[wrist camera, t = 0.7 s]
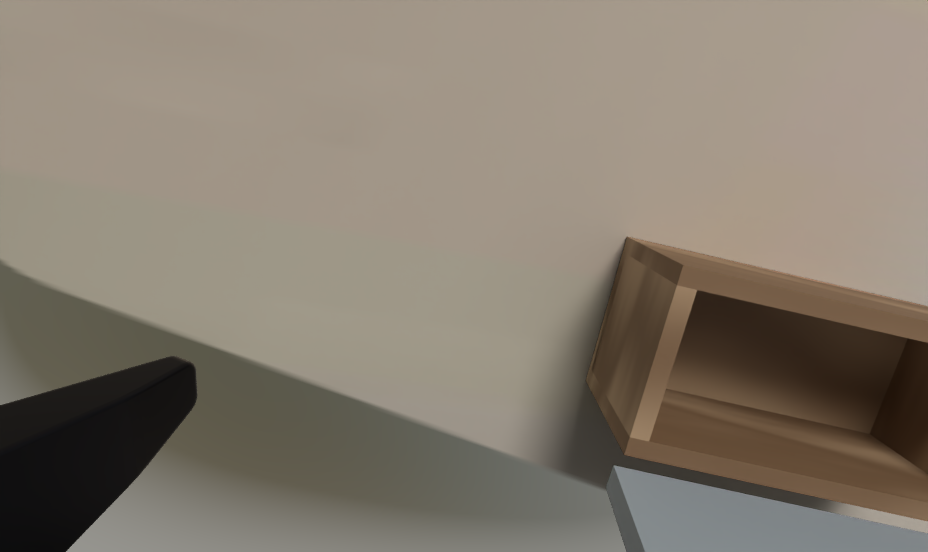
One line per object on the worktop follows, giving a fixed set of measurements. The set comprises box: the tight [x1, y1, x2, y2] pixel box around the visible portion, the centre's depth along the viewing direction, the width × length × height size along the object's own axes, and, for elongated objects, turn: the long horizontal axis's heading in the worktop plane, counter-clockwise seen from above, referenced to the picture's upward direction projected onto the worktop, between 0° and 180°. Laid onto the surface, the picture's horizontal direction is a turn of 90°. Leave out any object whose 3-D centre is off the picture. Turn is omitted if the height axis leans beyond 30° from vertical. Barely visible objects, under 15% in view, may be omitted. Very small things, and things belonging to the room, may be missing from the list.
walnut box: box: [586, 237, 928, 521], centre depth 20 cm, size 6×12×6 cm, turn 77°
